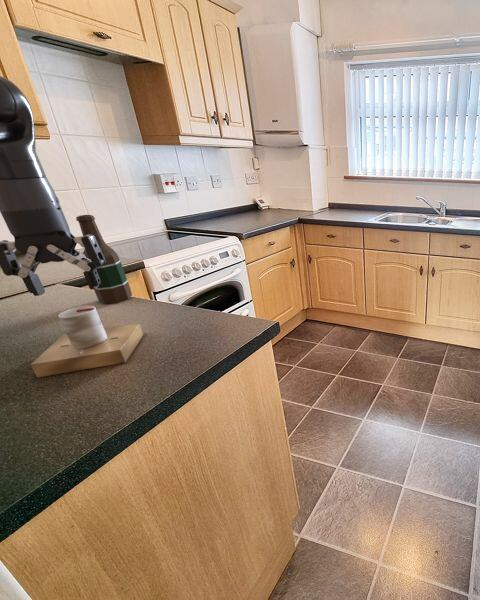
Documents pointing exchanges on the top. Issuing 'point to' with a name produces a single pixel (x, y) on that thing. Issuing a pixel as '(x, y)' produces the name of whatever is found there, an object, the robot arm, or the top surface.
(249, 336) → the top surface
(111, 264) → the beer bottle
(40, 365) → the wooden board
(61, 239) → the robot arm
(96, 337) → the white short cylinder
